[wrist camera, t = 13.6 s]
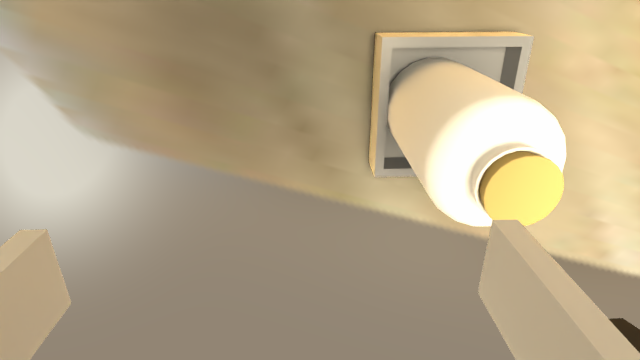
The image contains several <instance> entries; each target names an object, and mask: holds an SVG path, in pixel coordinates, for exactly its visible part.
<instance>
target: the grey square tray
mask: <svg viewBox="0 0 640 360" xmlns="http://www.w3.org/2000/svg"><path fill="white" fill-rule="evenodd" d="M533 39H534V36H532V35H527V34H523V33H518V32H395V33H375V49H374V69H373V89H372V109H371V129H370V148H369V164H370V167H371V170H372V172H373V175H374V177H417V176H416V174H415V172H414V171H413V169H412V167H411V165H410V164H409V162H408V160H407V159H406V157H405V155H404V154H403V152H402V150H401V149H400V147H399V145H398V143H397V142H396V140H395V138H394V137H393V135H392V133H391V132H390V130H389V128H388V126H387V112H388V97H389V87H390V85H391V83H392V82H393V81H394V79H395V78H396V77H397V76H398V74H399V73H400V72H401V71H402V70H404V69H405V68H407V67H408V66H409V65H411V64H412V63H414V62H417V61H420V60H423V59H426V58H447V59H450V60H453V61H456V62H458V63H460V64H463V65H465V66H467V67H469V68H471V69H473V70H475V71H477V72H479V73H481V74H483V75H485V76H487V77H489V78H491V79H493V80H495V81H497V82H499V83H501V84H503V85H505V86H507V87H509V88H511V89H513V90H515V91H517V92H519V93H521V94H522V93H523V88H524V83H525V78H526V73H527V69H528V64H529V59H530V54H531V49H532V44H533Z"/></svg>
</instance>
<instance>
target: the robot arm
mask: <svg viewBox="0 0 640 360" xmlns="http://www.w3.org/2000/svg"><path fill="white" fill-rule="evenodd" d="M478 293H479V296H480V297H481V299H482V301H483V302H484V304H485V306H486V308H487V310H488V311H489V313H490V315H491V317H492V318H493V320H494V322H495V324H496V325H497V327H498V329H499V331H500V333H501V334H502V336H503V338H504V340H505V342H506V343H507V345H508V347H509V349H510V350H511V352H512V354H513V356H514V357H515V359H516V360H640V329H638V328H637V327H635V326H633V325H632V324H630V323H629V322H627V321H626V320H624V319H623V318H621V319H620V318H618V319H608V318H607V317H606V316H605V315H604V314H603V313H602V312H601V310H600V309H599V308H598V307H597V306H596V305H595V304H594V303H593V302H592V301H591V299H590V298H589V297H588V296H587V295H586V294H585V293H584V292H583V291H582V290H581V289H580V288H579V286H578V285H577V284H576V283H575V282H574V281H573V280H572V279H571V278H570V276H569V275H568V274H567V273H566V272H565V271H564V270H563V269H562V268H561V267H560V265H559V264H558V263H557V262H556V261H555V260H554V259H553V258H552V257H551V256H550V255H549V253H548V252H547V251H546V250H545V249H544V248H543V247H542V246H541V245H540V244H539V242H538V241H537V240H536V239H535V238H534V237H533V236H532V235H531V234H530V233H529V232H528V230H527V229H526V228H525V227H524V226H523V225H522V224H521V223H520V222H519V221H518V220H517V219H516V220H492V224H491V229H490V234H489V239H488V244H487V249H486V254H485V259H484V264H483V269H482V274H481V279H480V284H479V289H478ZM70 305H71V300H70V297H69V294H68V291H67V288H66V285H65V282H64V279H63V276H62V273H61V270H60V267H59V264H58V261H57V258H56V255H55V252H54V249H53V246H52V243H51V240H50V237H49V234H48V231H47V229H42V230H19V231H18V232H17V233H16V234H15V235H14V236H12V237H11V238H10V239H9V240H8V241H7V242H5V243H4V244H3V245H2V246H1V247H0V360H30V359H31V357H32V356H33V355H34V353H35V352H36V351H37V349H38V348H39V347H40V345H41V344H42V343H43V341H44V340H45V339H46V337H47V336H48V334H49V333H50V331H51V330H52V329H53V328H54V326H55V325H56V323H57V322H58V321H59V320H60V318H61V317H62V315H63V314H64V313H65V311H66V310H67V308H68V307H69V306H70Z"/></svg>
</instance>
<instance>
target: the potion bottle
mask: <svg viewBox="0 0 640 360" xmlns="http://www.w3.org/2000/svg"><path fill="white" fill-rule="evenodd" d="M387 126H388V128H389V130H390V132H391V133H392V135H393V137H394V138H395V140H396V142H397V143H398V145H399V147H400V149H401V150H402V152H403V154H404V155H405V157H406V159H407V160H408V162H409V164H410V165H411V167H412V169H413V171H414V172H415V174H416V176H417V177H418V179H419V181H420V182H421V184H422V186H423V188H424V189H425V191H426V193H427V194H428V196H429V197H430V198H431V200H432V201H433V203H434V204H435V206H436V207H437V208H438V209H439V210H440V211H442V212H443V213H445V214H446V215H448V216H449V217H450V218H452V219H453V220H455V221H457V222H461V223H464V224H468V225H471V226H491V224H492V220H516V219H517V220H518V221H519V222H520V223H521V224H522V225H523V226H526V225H530V224H534V223H535V222H537V221H539V220H541V219H543V218H544V217H546V216H547V215H548V214H549V213H550V212H551V211H552V210H553V209H554V208H555V206H556V205H557V203H558V202H559V200H560V199H561V196H562V192H563V189H564V179H563V174H562V170H563V167H564V163H565V160H566V142H565V135H564V133H563V131H562V129H561V127H560V125H559V123H558V121H557V119H556V118H555V116H554V115H553V114H552V113H550V112H549V111H548V110H547V109H546V108H545V107H544V106H542V105H541V104H540V103H539V102H538V101H536V100H534V99H532V98H530V97H528V96H526V95H523V94H521V93H519V92H517V91H515V90H513V89H511V88H509V87H507V86H505V85H503V84H501V83H499V82H497V81H495V80H493V79H491V78H489V77H487V76H485V75H483V74H481V73H479V72H477V71H475V70H473V69H471V68H469V67H467V66H465V65H463V64H460V63H458V62H456V61H453V60H450V59H447V58H426V59H423V60H420V61H417V62H414V63H412V64H411V65H409V66H408V67H407V68H405V69H404V70H402V71H401V72H400V73H399V74H398V76H397V77H396V78H395V79H394V81H393V82H392V83H391V85H390V87H389V97H388V112H387Z"/></svg>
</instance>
